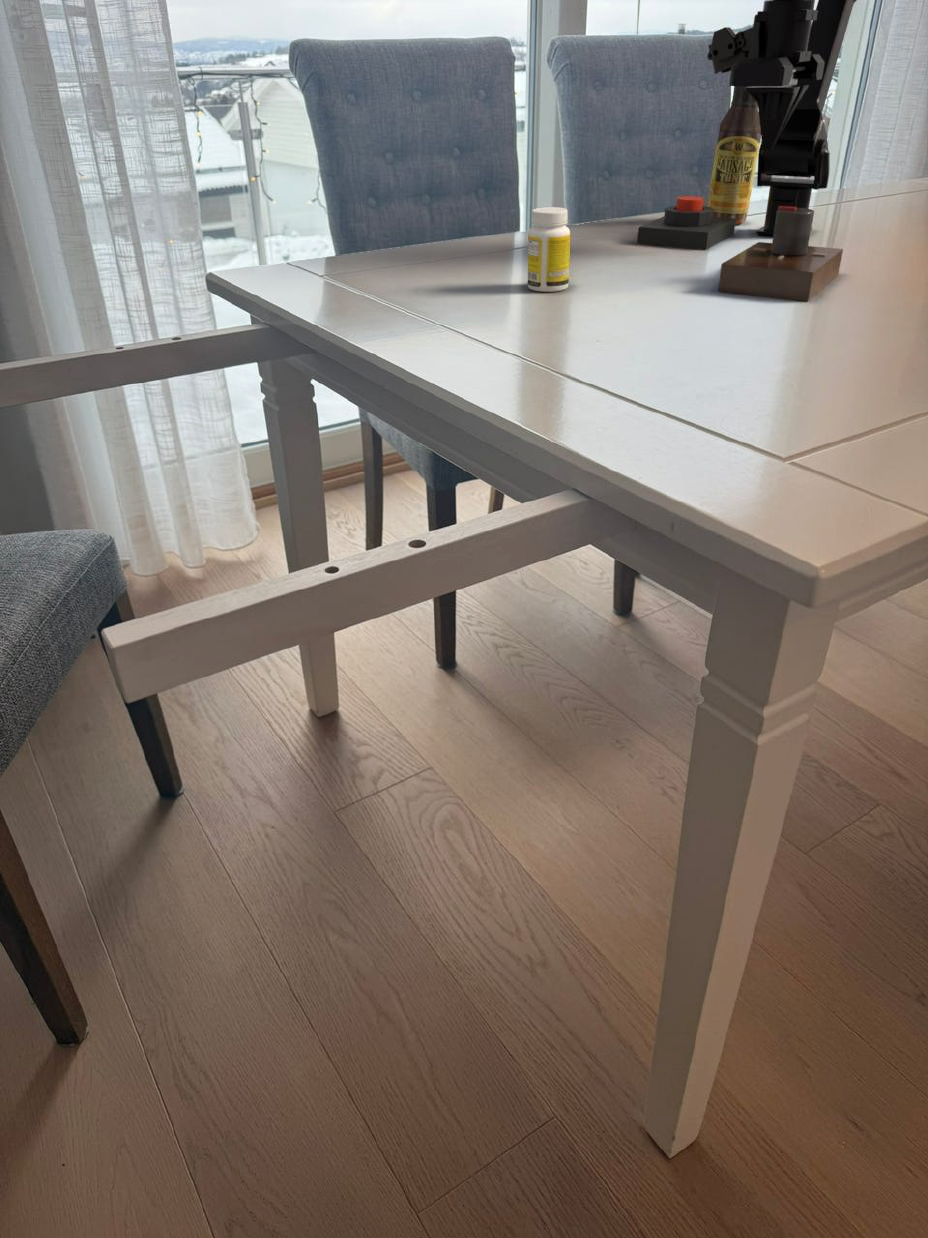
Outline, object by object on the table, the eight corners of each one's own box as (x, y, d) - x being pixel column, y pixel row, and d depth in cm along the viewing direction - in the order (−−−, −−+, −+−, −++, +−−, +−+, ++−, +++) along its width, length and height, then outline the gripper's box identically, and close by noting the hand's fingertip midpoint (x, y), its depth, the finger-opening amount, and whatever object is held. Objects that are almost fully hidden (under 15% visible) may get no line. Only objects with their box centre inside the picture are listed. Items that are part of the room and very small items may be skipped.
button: (681, 208, 128) (682, 195, 127) (705, 210, 126) (707, 196, 125) (672, 212, 125) (673, 198, 124) (697, 214, 124) (698, 200, 123)
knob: (811, 250, 105) (819, 205, 102) (801, 257, 102) (809, 211, 99) (776, 247, 106) (783, 203, 104) (766, 253, 104) (773, 208, 101)
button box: (668, 229, 134) (670, 200, 132) (733, 234, 130) (738, 204, 128) (636, 243, 126) (639, 212, 124) (706, 249, 121) (709, 217, 119)
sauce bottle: (704, 225, 136) (722, 72, 125) (705, 218, 141) (722, 70, 130) (749, 226, 135) (771, 71, 124) (748, 219, 140) (769, 70, 129)
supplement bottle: (572, 284, 106) (575, 206, 102) (562, 293, 102) (566, 213, 98) (533, 282, 107) (534, 205, 103) (522, 291, 104) (523, 212, 99)
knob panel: (754, 267, 112) (758, 240, 110) (838, 275, 107) (843, 247, 105) (717, 291, 102) (721, 262, 100) (808, 301, 97) (813, 270, 95)
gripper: (746, 3, 115) (729, 140, 124) (694, 1, 102) (679, 154, 111) (836, 0, 110) (812, 143, 119) (793, -3, 97) (770, 158, 106)
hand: (767, 149), depth 114 cm, fingers closed
